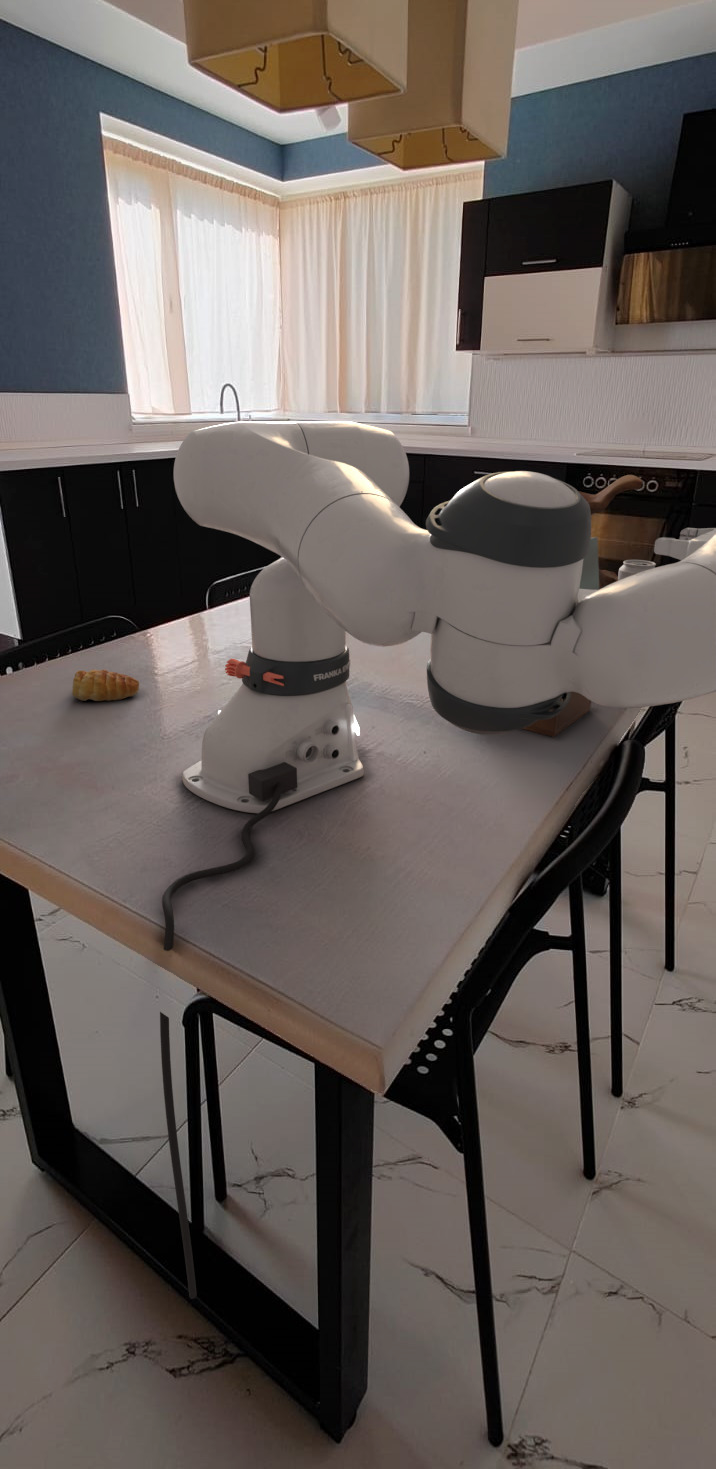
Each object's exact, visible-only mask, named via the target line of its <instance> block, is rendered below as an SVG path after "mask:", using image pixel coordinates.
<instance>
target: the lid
mask: <svg viewBox="0 0 716 1469" xmlns="http://www.w3.org/2000/svg"><path fill="white" fill-rule="evenodd" d="M598 538H599V537H598V536H591V540H590V550H589V553H588V555H587V556H586V557H585V558H584V560H583V568H582V574H581V580H580V587H579V589H589V590H599V569H600V567H599V566H600V565H599V544H598V542H599V541H598Z"/></svg>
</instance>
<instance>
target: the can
mask: <svg viewBox="0 0 716 1469" xmlns="http://www.w3.org/2000/svg"><path fill="white" fill-rule="evenodd" d="M622 563H623V564H622V565H621V566H620V567H619V569H618V573H617V574H618V575H617V577H618V581H619V580H621V579H624V578H626V577H629V576H632V575H634V574H637V573H640V572H643V571H646V570H649V569H653V568H656V566H657V563H655V562H654V561H652V560H651V561H650V560H644V559H626V560H624V561H623V562H622Z"/></svg>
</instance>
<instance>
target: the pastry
mask: <svg viewBox="0 0 716 1469" xmlns="http://www.w3.org/2000/svg"><path fill="white" fill-rule="evenodd" d="M139 690H140V681H139V680H137V679H136V678H134V677H132V676H131V675H130V676H128V675H127V674H124V673H118V672H115V671H108V670H107V669H100V670H98V669H91V670H89V671H85V670H77V671H76V672H75V673H74V678H73V681H72V692H71V695H72V697H74V698H76V699H77V700H80V701H86V702H87V700H92V701H94V702H102V701H109V702H110V701H117V700H118V701H119V700H122V699H126V698H128V697H134V696H135V695H137V694H138V692H139Z"/></svg>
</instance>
